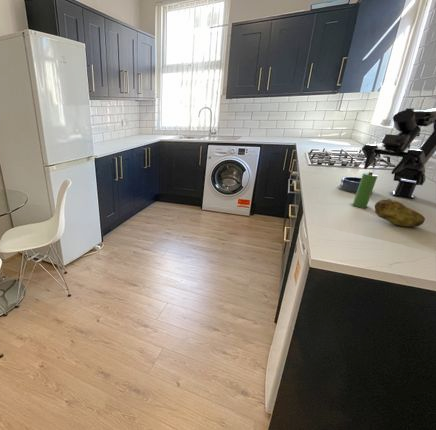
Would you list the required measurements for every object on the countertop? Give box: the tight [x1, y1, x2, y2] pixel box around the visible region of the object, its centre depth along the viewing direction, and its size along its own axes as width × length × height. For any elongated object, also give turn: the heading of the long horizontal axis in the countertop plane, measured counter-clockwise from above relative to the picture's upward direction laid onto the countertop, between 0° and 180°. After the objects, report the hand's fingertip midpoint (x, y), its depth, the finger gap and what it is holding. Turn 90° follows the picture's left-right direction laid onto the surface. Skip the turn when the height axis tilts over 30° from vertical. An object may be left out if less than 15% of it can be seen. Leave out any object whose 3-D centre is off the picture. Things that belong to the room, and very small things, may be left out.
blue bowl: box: [338, 176, 362, 194], centre depth 133 cm, size 12×12×5 cm
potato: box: [374, 198, 426, 228], centre depth 96 cm, size 8×13×8 cm, turn 38°
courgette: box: [352, 171, 379, 209], centre depth 111 cm, size 4×4×14 cm
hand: (377, 170), depth 112 cm, fingers open, 9 cm apart
